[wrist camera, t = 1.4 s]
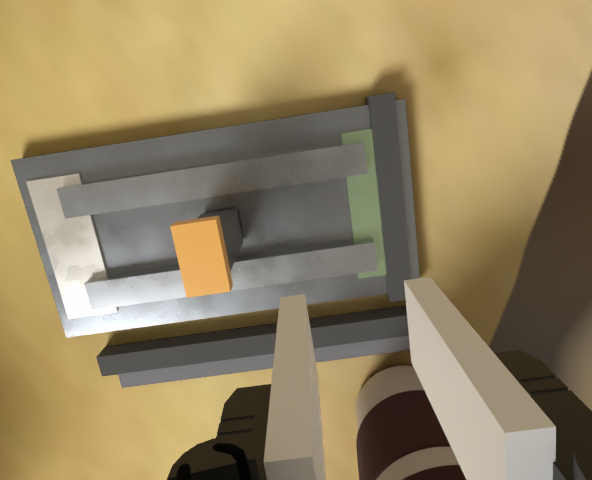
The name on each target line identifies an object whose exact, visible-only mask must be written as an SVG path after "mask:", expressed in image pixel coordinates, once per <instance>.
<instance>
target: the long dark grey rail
mask: <svg viewBox="0 0 592 480" xmlns="http://www.w3.org/2000/svg"><path fill="white" fill-rule="evenodd" d="M309 322H310V329H311V335H312V342H313V348H314V355H315V361H316V362H323V361H330V360H338V359H345V358H353V357H361V356H368V355H376V354H384V353H391V352H399V351H406V350H410V342H409V331H408V320H407V309H406V306H401V307H393V308H386V309H379V310H371V311H364V312H356V313H349V314H342V315H334V316H327V317H319V318H312V319H309ZM276 332H277V323H275V324H268V325H260V326H253V327H246V328H238V329H231V330H223V331H216V332H209V333H201V334H194V335H186V336H179V337H172V338H164V339H157V340H150V341H142V342H135V343H127V344H120V345H113V346H106V347H105V348H104V349H103V350H102V351H101V352H100V354H99V355H98V356H97V361H98V364H99V367H100V371H101V374H102V376H108V375H116V374H118V376H119V379H120V383H121V386H122V388H124V387H132V386H140V385H147V384H155V383H162V382H170V381H178V380H185V379H193V378H201V377H208V376H216V375H223V374H231V373H239V372H246V371H254V370H262V369H269V368H273V362H274V352H275V342H276Z"/></svg>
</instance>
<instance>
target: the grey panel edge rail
mask: <svg viewBox="0 0 592 480" xmlns="http://www.w3.org/2000/svg"><path fill="white" fill-rule="evenodd" d="M366 105H369V107H370V117H371V127H372V132H373V142H374V152H375V162H376V172H377V182H378V191H379V201H380V211H381V221H382V231H383V241H384V251H385V261H386V271H387V285H388V294H386V295H387V297H388V299H389V301H390V302H395V301H402V300H406V298H405V287H404V280H410V279H411V273H410V261H409V249H408V238H407V226H406V214H405V203H404V191H403V179H402V168H401V156H400V145H399V133H398V121H397V110H396V98H395V92H393V93H387V94H380V95H374V96H368V97H366Z"/></svg>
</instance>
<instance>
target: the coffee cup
mask: <svg viewBox="0 0 592 480" xmlns="http://www.w3.org/2000/svg"><path fill="white" fill-rule="evenodd" d="M356 415H357V426H358V434H357V458H358V470H359V480H466V478H465V476H464V473H463V471H462V469H461V467H460V465H459V463H458V461H457V459H456V456H455V454H454V452H453V450H452V448H451V446H450V444H449V442H448V439H447V437H446V435H445V433H444V431H443V429H442V427H441V424H440V422H439V420H438V418H437V416H436V414H435V412H434V410H433V407H432V405H431V403H430V401H429V399H428V397H427V395H426V392H425V390H424V388H423V386H422V384H421V382H420V380H419V378H418V375H417V373H416V371H415V369H414V367H413V366H408V365H401V366H394V367H389V368H386V369H384V370H382V371H380V372H378V373H376V374H375V375H374V376H372V377H371V378H370V379H369V380H368V381H367V382H366V383H365V385H364V386H363V387H362V389H361V391H360V393H359V396H358V399H357V404H356Z"/></svg>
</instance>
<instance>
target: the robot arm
mask: <svg viewBox="0 0 592 480" xmlns="http://www.w3.org/2000/svg"><path fill="white" fill-rule="evenodd" d="M404 287H405V298H406V309H407V320H408V331H409V342H410V353H411V363H412V365H413V367H414V369H415V371H416V373H417V375H418V378H419V380H420V382H421V384H422V386H423V388H424V390H425V392H426V395H427V397H428V399H429V401H430V403H431V405H432V407H433V410H434V412H435V414H436V416H437V418H438V420H439V422H440V424H441V427H442V429H443V431H444V433H445V435H446V437H447V439H448V442H449V444H450V446H451V448H452V450H453V452H454V454H455V456H456V459H457V461H458V463H459V465H460V467H461V469H462V471H463V473H464V476H465V478H466V480H592V411H591V410H590V409H589V408H588V407H587V406H586V405H585V404H584V403H583V402H582V401H581V400H580V399H579V398H578V397H577V396H576V395H575V394H574V393H573V392H572V391H569V390H568V387H567V386H565V384H564V383H563V382H562V381H561V380H560V379H559V378H556V376H555V374H554V373H553V372H552V371H550V369H549V368H547V367H546V365H545V364H543V363H542V361H540V360H538V359H536V358H534V357H532V356H530V355H528V354H526V353H524V352H522V351H520V350H518V351H510V352H502V353H495V354H494V353H493V351H492V350H491V349H490V348H489V347H488V345H487V344H486V343H485V342H484V341H483V339H482V338H481V337H480V336H479V335H478V334H477V332H476V331H475V330H474V329H473V328H472V326H471V325H470V324H469V323H468V322H467V320H466V319H465V318H464V317H463V316H462V315H461V313H460V312H459V311H458V310H457V309H456V307H455V306H454V305H453V304H452V303H451V301H450V300H449V299H448V298H447V297H446V296H445V294H444V293H443V292H442V291H441V290H440V288H439V287H438V286H437V285H436V284H435V282H434V281H433V280H432V279H431V278H430V277H424V278H417V279H410V280H404ZM167 480H326V476H325V463H324V450H323V438H322V425H321V412H320V400H319V387H318V374H317V368H316V361H315V355H314V348H313V342H312V335H311V329H310V322H309V316H308V309H307V303H306V296H305V294H301V295H294V296H286V297H280V302H279V312H278V322H277V332H276V342H275V352H274V362H273V372H272V383H271V384H268V385H260V386H252V387H245V388H237V389H236V390H235V391H234V393H233V394H232V395H231V396H230V398H229V399H228V400H227V401H226V402H225V404H224V408H223V412H222V416H221V423H220V424H219V428H218V432H217V437H216V439H211V440H208V441H206V442H203V443H200V444H197V445H196V446H194V447H193V448H191V449H190V450H188V451H187V452H185V453H184V454H183V455H182V456H181V457H180V458H179V459H178V460H177V461H176V462H175V464H174V465H173V466H172V468H171V471H170V473H169V475H168V478H167Z"/></svg>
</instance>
